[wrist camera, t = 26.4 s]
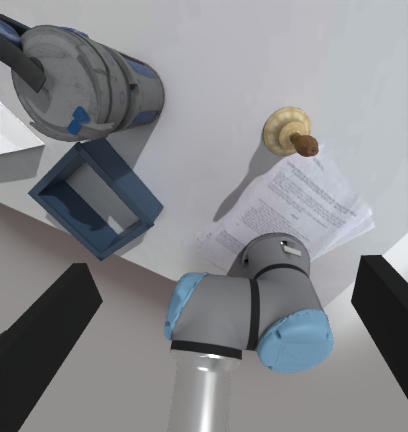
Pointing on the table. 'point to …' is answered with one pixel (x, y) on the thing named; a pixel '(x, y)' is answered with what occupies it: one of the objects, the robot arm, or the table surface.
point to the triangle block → (15, 133)
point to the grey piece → (77, 82)
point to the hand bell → (289, 133)
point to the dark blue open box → (81, 212)
